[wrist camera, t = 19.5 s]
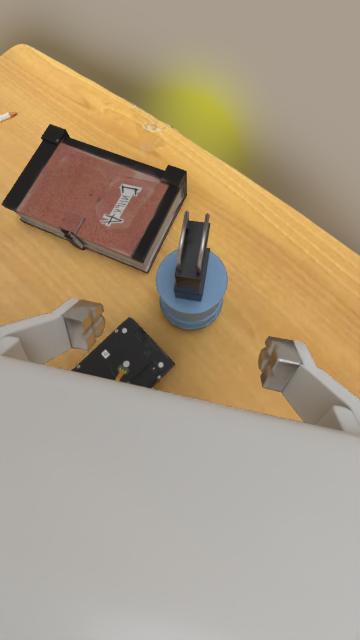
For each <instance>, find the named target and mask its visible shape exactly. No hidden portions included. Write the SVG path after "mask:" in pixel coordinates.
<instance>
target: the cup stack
mask: <svg viewBox="0 0 360 640" xmlns="http://www.w3.org/2000/svg"><path fill="white" fill-rule="evenodd" d="M177 252H178V249H177V250H175V251H173V252H172V253H170V254H169V255H168V256H167V257H166V258H165V259H164V260H163V261H162V263H161V264H160V266H159V269H158V272H157V277H156V284H157V289H158V292H159V295H160V306H161V309H162V312H163V313H164V315H165V317H166V318H167V319H168V320H169V321H170V322H171V323H172V324H173V325H175V326H177V327H179V328H182V329H185V330H197V329H201V328H203V327H206V326H207V325H209V324H210V323H212V322H213V321H214V320H215V319H216V317H217V316H218V315H219V313H220V311H221V308H222V304H223V296H224V294H225V291H226V288H227V282H228V279H227V272H226V269H225V266H224V264H223V263H222V261H221V260H220V259H219V258H218V257H217V256H216V255H215V254H214V253H212V252H211V251H210V253H209V260H208V266H207V272H206V278H205V285H204V291H203V297H202V301H201V302H200V301H194V300H187V299H181V298H175V294H174V286H175V271H176V266H177V259H176V258H177Z"/></svg>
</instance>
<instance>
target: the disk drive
mask: <svg viewBox="0 0 360 640" xmlns="http://www.w3.org/2000/svg"><path fill="white" fill-rule="evenodd" d="M174 365H175V363H174V362H173V361H172V360H171V359H170V358H169V357H168V356H167V355H166V354H165V353H164V351H163V350H162V349H161V348H160V347H159V346H158V345H157V344H156V343H155V342H154V341H153V340H152V339H151V338H150V337H149V335H148V334H147V333H146V332H145V331H144V330H143V329H142V328H141V327H140V326H139V325H138V324H137V323H136V322H135V321H134V320H133V319H132V318H130V317H129V318H128V319H127V320H125V321H124V322H123V323H122V324H121V325H120V326H118V327H117V329H116V330H115V331H114V332H112V333H111V334H110V335H109V336H108V337H107V338H106V339H105V340H104V341H103V342H102V343H101V344H100V345H99V346H97V348H96V349H94V350H93V351H92V352H91V353H90V354H89V355H88V356H87V357H86V358H85V359H84V360H83V361H81V362H80V363H79V364H78V365H77V366H76V367H75V368H74V369H73V370H72V371H74V372H79V373H83V374H88V375H92V376H97V377H101V378H106V379H110V380H115V381H119V382H124V383H128V384H133V385H137V386H142V387H146V388H152V387H153V386H154V385H155V384H156V383H157V382H158V381H159V380H160V379H161V378H162V377H163V376H164V375H165V374H166V373H167V372H168V371H169V370H170V369H171V368H172V367H173V366H174Z"/></svg>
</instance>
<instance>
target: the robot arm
mask: <svg viewBox="0 0 360 640" xmlns="http://www.w3.org/2000/svg"><path fill="white" fill-rule="evenodd" d="M103 312H104V309H103V305H102V304H100V303H96V302H91V301H86V300H81V299H76V298H70V299H69V300H67V301H66V302H65V303H63V304H62V305H61V306H59V307H58V308H57V309H55V310H54V311H53V312H52V313H50V314H47V313H46V314H43V315H39V316H36V317H32V318H28V319H25V320H21V321H18V322H14V323H11V324H7V325H3V326H0V640H360V399H359V398H357V397H356V396H355V395H354V394H352V393H351V392H350V391H348V390H347V389H346V388H345V387H343V386H342V385H341V384H340V383H338V382H337V381H336V380H335V379H333V378H332V377H331V376H330V375H328V374H327V373H326V372H325V371H323V370H322V369H321V368H317V367H316V365H315V363H314V361H313V359H312V357H311V355H310V353H309V351H308V349H307V347H306V345H305V343H304V342H301V341H295V340H287V339H282V338H276V337H271V336H269V337H268V338H267V339H266V341H265V345H266V347H265V348H264V349H262V350H261V352H260V355H259V360H258V365H259V369H260V370H261V371H262V374H261V376H260V377H261V382H262V387H263V388H266V389H270V390H274V391H278V392H282V394H283V396H284V397H285V398H286V400H287V401H288V402H289V403H290V405H291V406H292V407H293V409H294V410H295V411H296V413H297V414H298V415H299V417H300V418H301V419H302V420H303V422H300V421H295V420H291V419H286V418H281V417H277V416H272V415H268V414H263V413H259V412H254V411H250V410H245V409H241V408H236V407H232V406H227V405H223V404H218V403H214V402H209V401H205V400H200V399H196V398H192V397H187V396H183V395H178V394H174V393H169V392H165V391H160V390H156V389H151V388H146V387H142V386H137V385H133V384H128V383H124V382H119V381H115V380H110V379H106V378H101V377H97V376H92V375H88V374H83V373H79V372H74V371H70V370H65V369H61V368H56V367H52V366H47V365H43V364H44V363H46V362H48V361H50V360H51V359H53V358H55V357H57V356H59V355H61V354H62V353H64V352H66V351H68V350H70V349H71V348H76V349H82V350H87V351H89V349H90V348H91V347H92V346H93V344H94V343H95V338H97V337H99V336H100V335H101V334H102V333H103V331H104V328H105V318H104V317H103V316H102V315H101V314H102V313H103Z"/></svg>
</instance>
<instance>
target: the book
mask: <svg viewBox="0 0 360 640" xmlns="http://www.w3.org/2000/svg"><path fill="white" fill-rule="evenodd" d="M41 139H42V140H43V141H42V143H41V144H40V146H39V147H38V149H37V150H36V152H35V153H34V155H33V156H32V158H31V160H30V161H29V163H28V164H27V166H26V167H25V169H24V170H23V172H22V173H21V175H20V176H19V178H18V180H17V181H16V183H15V184H14V186H13V187H12V189H11V190H10V192H9V193H8V195H7V196H6V198H5V200H4V201H3V203H2V205H3V206H4V207H5V208H8V209H10V210H13V211H15V212H16V213H17V214H18V215H19V216H21V218H20V220H21V221H22V222H24V223H27V224H29V225H32V226H34V227H36V228H39V229H41V230H44V231H46V232H48V233H51V234H53V235H56V236H58V237H61V238H63V239H65V240H68V241H69V242H70V243H72V244H73V245H74V246H75V247H78V248H80V249H83V250H84V249H85V248H87V249H89V250H92V251H94V252H97V253H99V254H102V255H104V256H106V257H109V258H111V259H114V260H116V261H118V262H121V263H123V264H126V265H128V266H131V267H133V268H135V269H138V270H140V271H143V272H145V273H147V274H148V272H149V270H150V268H151V266H152V264H153V262H154V260H155V258H156V256H157V254H158V252H159V250H160V248H161V246H162V244H163V242H164V240H165V238H166V236H167V234H168V232H169V230H170V228H171V226H172V224H173V222H174V220H175V218H176V216H177V214H178V212H179V210H180V208H181V206H182V204H183V202H184V200H185V198H186V196H187V171H185V170H182V169H179V168H176V167H173V166H170V165H168V166H167V168H166V170H165V171H164V170H161V169H158V168H155V167H152V166H149V165H146V164H144V163H141V162H138V161H135V160H132V159H129V158H126V157H123V156H121V155H118V154H115V153H112V152H109V151H106V150H103V149H100V148H98V147H95V146H92V145H89V144H86V143H83V142H80V141H77V140H75V139H72V138H70V137H69V135H68V133H67V131H66V129H63V128H60V127H57V126H54V125H51V124H50V125H49V126H48V128H47V129H46V131H45V132H44V134H43V135H42V137H41Z"/></svg>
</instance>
